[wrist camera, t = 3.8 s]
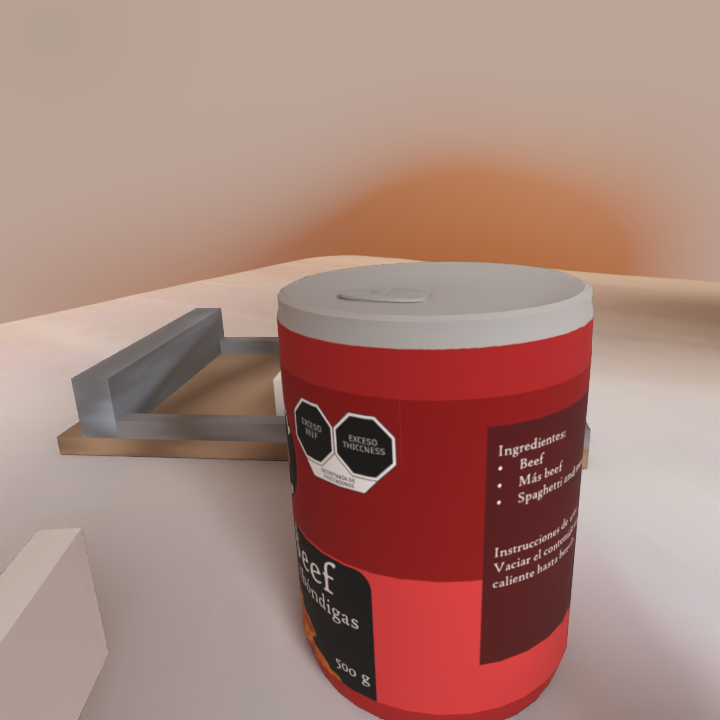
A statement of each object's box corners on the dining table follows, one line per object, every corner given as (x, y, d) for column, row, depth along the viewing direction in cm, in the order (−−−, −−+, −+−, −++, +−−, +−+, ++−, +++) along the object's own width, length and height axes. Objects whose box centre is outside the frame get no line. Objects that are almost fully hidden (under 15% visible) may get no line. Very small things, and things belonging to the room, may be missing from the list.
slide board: (537, 363, 43) (540, 305, 42) (587, 468, 28) (594, 382, 27) (184, 361, 47) (177, 308, 46) (60, 454, 32) (44, 378, 31)
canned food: (314, 559, 22) (291, 266, 19) (527, 552, 22) (543, 256, 19) (290, 747, 15) (247, 325, 12) (608, 739, 15) (657, 310, 12)
